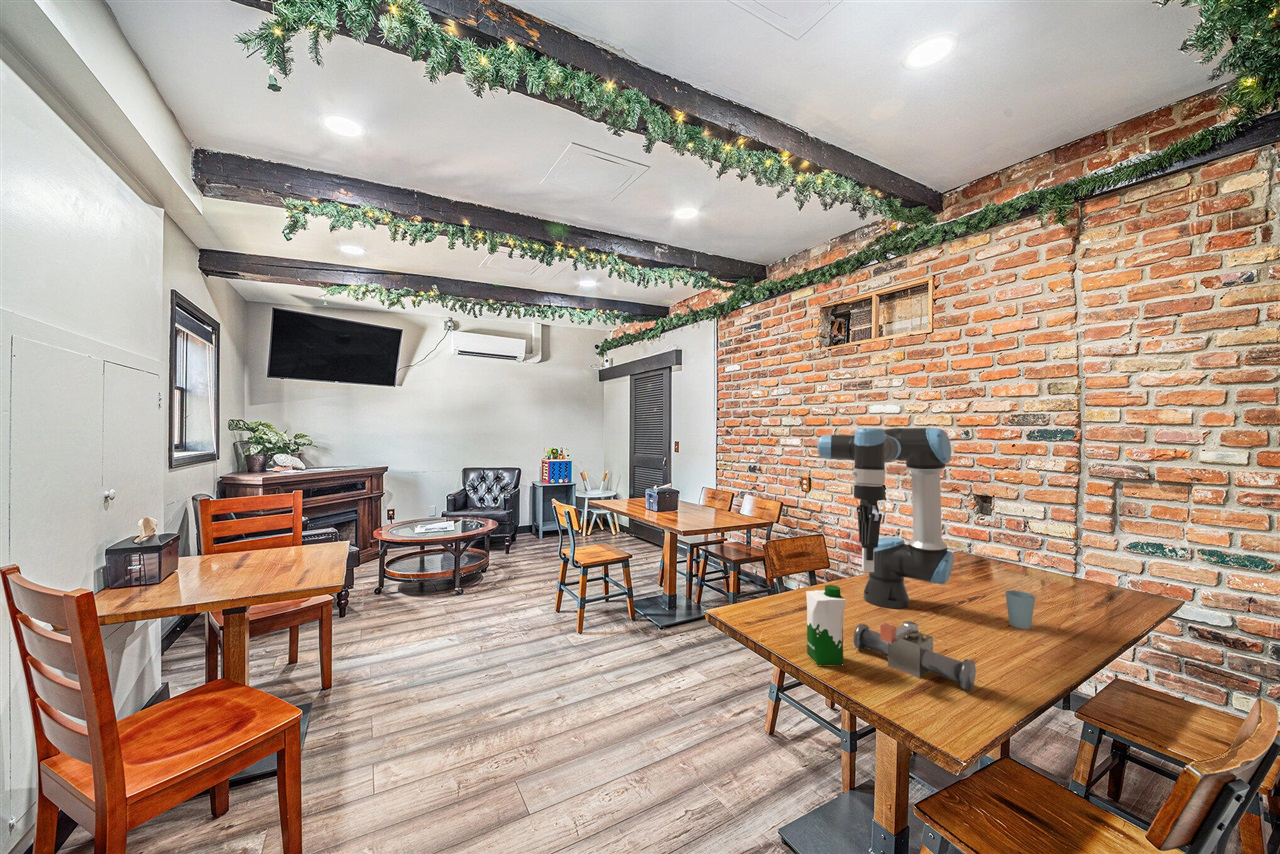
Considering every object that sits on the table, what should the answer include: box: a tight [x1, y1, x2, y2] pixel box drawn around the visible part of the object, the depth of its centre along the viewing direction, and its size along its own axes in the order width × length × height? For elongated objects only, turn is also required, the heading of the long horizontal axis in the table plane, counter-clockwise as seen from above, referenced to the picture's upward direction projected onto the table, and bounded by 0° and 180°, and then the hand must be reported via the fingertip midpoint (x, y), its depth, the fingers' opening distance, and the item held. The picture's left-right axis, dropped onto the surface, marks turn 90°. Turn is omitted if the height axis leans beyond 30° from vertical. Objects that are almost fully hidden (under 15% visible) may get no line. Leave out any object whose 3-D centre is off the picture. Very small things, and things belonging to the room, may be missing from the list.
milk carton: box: [805, 584, 846, 666], centre depth 132 cm, size 9×9×20 cm
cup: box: [1005, 589, 1036, 630], centre depth 157 cm, size 8×8×10 cm
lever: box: [879, 620, 919, 644], centre depth 125 cm, size 15×4×4 cm, turn 127°
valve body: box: [853, 623, 977, 692], centre depth 129 cm, size 28×8×10 cm, turn 37°
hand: (867, 571), depth 131 cm, fingers closed
